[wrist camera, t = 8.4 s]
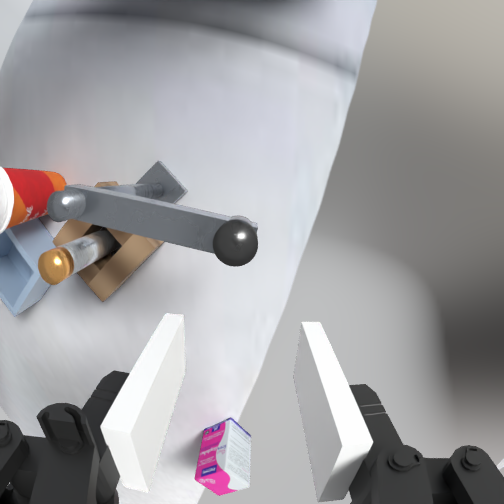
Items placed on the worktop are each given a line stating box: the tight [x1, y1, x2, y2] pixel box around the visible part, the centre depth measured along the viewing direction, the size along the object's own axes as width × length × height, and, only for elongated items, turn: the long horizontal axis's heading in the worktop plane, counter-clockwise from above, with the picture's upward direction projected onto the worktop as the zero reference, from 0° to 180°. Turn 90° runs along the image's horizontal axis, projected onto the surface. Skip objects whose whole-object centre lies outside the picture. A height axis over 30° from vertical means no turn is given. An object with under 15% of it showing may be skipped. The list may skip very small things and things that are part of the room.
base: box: [136, 161, 187, 204], centre depth 35 cm, size 5×5×1 cm
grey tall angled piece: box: [47, 183, 258, 266], centre depth 25 cm, size 13×2×20 cm, turn 76°
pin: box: [38, 228, 122, 285], centre depth 30 cm, size 3×3×15 cm
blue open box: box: [0, 218, 56, 317], centre depth 34 cm, size 10×10×7 cm
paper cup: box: [0, 167, 66, 234], centre depth 29 cm, size 8×8×14 cm
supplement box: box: [195, 418, 251, 496], centre depth 39 cm, size 6×6×12 cm
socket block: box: [52, 182, 164, 302], centre depth 35 cm, size 10×10×5 cm
